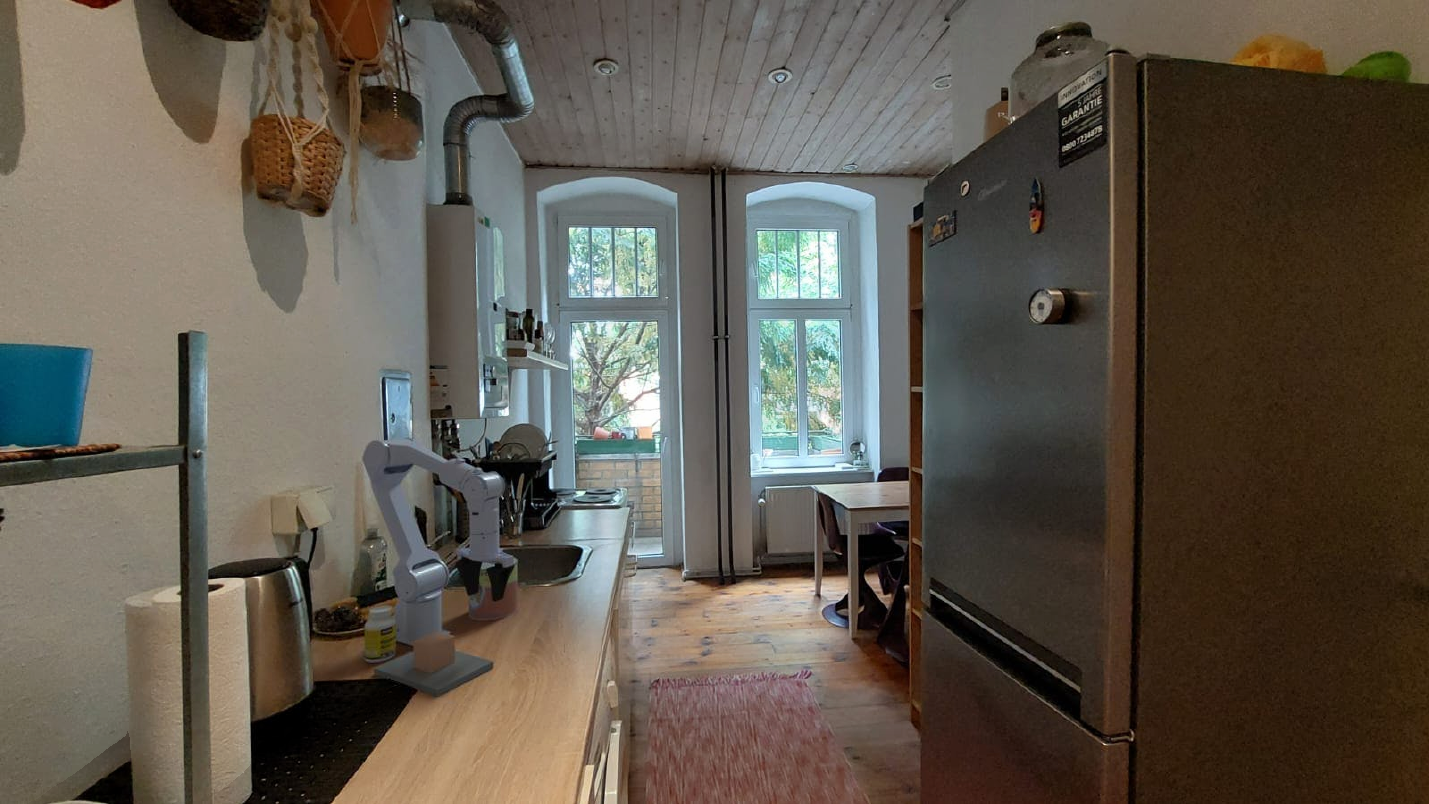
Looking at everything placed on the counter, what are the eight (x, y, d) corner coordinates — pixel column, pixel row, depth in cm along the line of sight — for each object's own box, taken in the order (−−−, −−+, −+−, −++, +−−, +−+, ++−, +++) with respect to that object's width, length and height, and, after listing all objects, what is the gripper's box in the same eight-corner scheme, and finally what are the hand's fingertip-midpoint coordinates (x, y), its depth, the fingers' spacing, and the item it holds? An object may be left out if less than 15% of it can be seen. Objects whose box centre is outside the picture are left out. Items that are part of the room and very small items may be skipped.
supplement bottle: (381, 664, 111) (381, 614, 111) (358, 662, 112) (357, 612, 112) (402, 652, 116) (402, 604, 116) (379, 650, 117) (379, 603, 117)
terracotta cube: (413, 667, 107) (413, 641, 107) (437, 657, 111) (437, 631, 111) (431, 673, 104) (431, 646, 104) (454, 662, 109) (454, 636, 109)
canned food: (458, 614, 137) (458, 564, 137) (498, 600, 147) (497, 554, 147) (488, 623, 131) (488, 571, 131) (527, 608, 141) (527, 560, 141)
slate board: (374, 674, 107) (374, 668, 107) (431, 649, 117) (431, 643, 117) (437, 696, 98) (437, 689, 98) (493, 667, 109) (493, 661, 109)
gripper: (524, 531, 118) (525, 596, 118) (476, 524, 125) (477, 586, 125) (497, 538, 112) (497, 607, 112) (448, 531, 119) (449, 596, 119)
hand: (485, 597), depth 118 cm, fingers open, 7 cm apart
